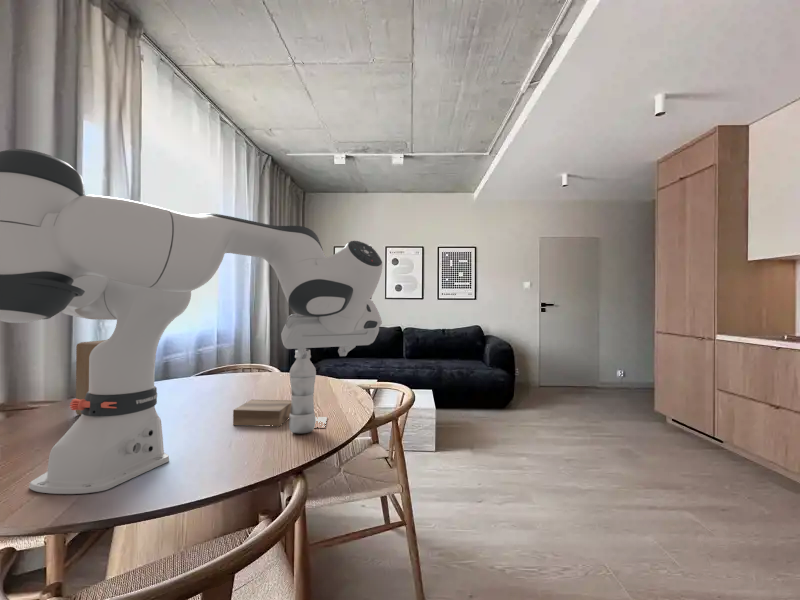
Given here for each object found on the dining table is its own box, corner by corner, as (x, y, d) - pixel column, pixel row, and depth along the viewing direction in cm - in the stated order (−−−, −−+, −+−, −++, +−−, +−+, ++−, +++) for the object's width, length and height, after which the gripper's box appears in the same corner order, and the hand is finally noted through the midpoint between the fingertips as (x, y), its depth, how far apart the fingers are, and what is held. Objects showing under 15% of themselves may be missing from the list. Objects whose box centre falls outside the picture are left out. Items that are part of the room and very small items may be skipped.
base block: (279, 426, 113) (279, 411, 113) (233, 425, 114) (233, 409, 114) (293, 414, 125) (293, 400, 125) (251, 413, 126) (251, 399, 126)
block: (73, 415, 122) (74, 342, 122) (107, 407, 131) (108, 339, 131) (101, 418, 119) (102, 343, 119) (134, 410, 129) (134, 340, 129)
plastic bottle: (283, 435, 106) (283, 351, 106) (296, 427, 113) (297, 348, 113) (307, 437, 104) (308, 352, 104) (320, 429, 111) (321, 349, 111)
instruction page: (325, 428, 112) (325, 426, 112) (292, 429, 111) (292, 427, 111) (327, 417, 122) (327, 416, 122) (297, 418, 121) (297, 417, 121)
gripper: (293, 324, 83) (277, 370, 91) (389, 322, 93) (367, 363, 102) (286, 300, 86) (271, 346, 95) (379, 301, 97) (358, 342, 105)
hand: (321, 355), depth 98 cm, fingers open, 8 cm apart
